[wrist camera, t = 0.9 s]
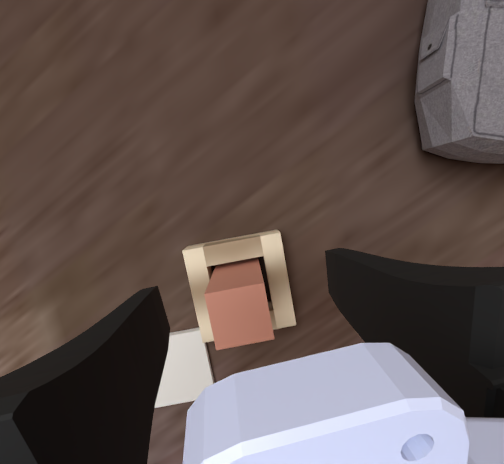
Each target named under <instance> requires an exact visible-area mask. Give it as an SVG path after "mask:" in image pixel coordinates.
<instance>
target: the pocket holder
mask: <svg viewBox="0 0 504 464" xmlns="http://www.w3.org/2000/svg"><path fill="white" fill-rule="evenodd" d="M182 252H183V256H184V261H185V265H186V270H187V274H188V279H189V283H190V288H191V292H192V297H193V301H194V306H195V310H196V315H197V319H198V324H199V328H200V333H201V338H202V342H203V343H205V342H210V341H214V337H213V333H212V328H211V323H210V319H209V314H208V309H207V305H206V300H205V296H204V293H205V291H206V289H207V286H208V284H209V281H210V279H211V276H212V269H211V266H213V265H218V264H224V263H229V262H234V261H240V260H245V259H250V258H256V257H261V256H263V259H264V264H265V270H266V275H267V281H268V286H269V292H270V297H271V301H270V302H268V307H269V312H270V318H271V323H272V328H273V330H274V329H279V328H284V327H289V326H295V325H296V320H295V314H294V309H293V303H292V297H291V291H290V286H289V280H288V274H287V268H286V262H285V257H284V251H283V245H282V239H281V234H280V232H279V231H278V230H272V231H266V232H261V233H256V234H250V235H245V236H240V237H234V238H229V239H224V240H218V241H213V242H208V243H202V244H197V245H192V246H187V247H186V248H185V249H184V250H183V251H182Z"/></svg>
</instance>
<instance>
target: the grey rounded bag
mask: <svg viewBox="0 0 504 464" xmlns="http://www.w3.org/2000/svg"><path fill="white" fill-rule="evenodd" d="M414 102H415V107H416V113H417V119H418V124H419V130H420V136H421V142H422V150H424V151H427V152H430V153H433V154H436V155H439V156H442V157H445V158H448V159H455V160H462V161H468V162H475V163H499V164H504V0H428V3H427V9H426V14H425V20H424V25H423V31H422V37H421V42H420V48H419V57H418V68H417V79H416V90H415V101H414Z"/></svg>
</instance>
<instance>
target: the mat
mask: <svg viewBox="0 0 504 464" xmlns="http://www.w3.org/2000/svg"><path fill="white" fill-rule="evenodd" d="M214 383H215V382H214V377H213V373H212V368H211V364H210V359H209V354H208V350H207V345H206V342H205V343H203V342H202V338H201V333H200V328H194V329H188V330H183V331H178V332H173V333H170V336H169V346H168V353H167V357H166V361H165V366H164V370H163V374H162V378H161V382H160V386H159V390H158V394H157V398H156V403H155V408H158V407H163V406H168V405H174V404H179V403H184V402H189V401H194V400H196V399H197V398H198V396H199V395H200V394H201V393H202V391H203V390H204V389H205V388H206V387H208V386H210V385H212V384H214Z"/></svg>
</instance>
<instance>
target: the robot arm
mask: <svg viewBox="0 0 504 464" xmlns="http://www.w3.org/2000/svg"><path fill="white" fill-rule="evenodd" d="M325 253H326V265H327V276H328V288H329V294H330V295H331V297H332V299H333V301H334V302H335V304H336V306H337V307H338V309H339V310H340V312H341V313H342V314H343V316H344V317H345V318H346V319H347V321H348V322H349V323H350V324H351V326H352V327H353V328H354V329H355V330H356V332H357V333H358V334H359V335H360V336H361V338H362V339H363V340H364V341H365V343H360V344H356V345H352V346H347V347H343V348H339V349H335V350H331V351H327V352H323V353H319V354H314V355H310V356H306V357H302V358H298V359H294V360H290V361H286V362H281V363H277V364H273V365H269V366H265V367H261V368H257V369H253V370H248V371H244V372H240V373H236V374H233V375H231V376H229V377H227V378H225V379H223V380H221V381H218V382H216V383H214V384H212V385H210V386H208V387H206V388H205V389H204V390H203V391H202V393H201V394H200V395H199V396H198V398H197V399H196V400H195V402H194V403H193V404H192V405H191V407H190V408H189V409H188V411H187V422H186V433H185V444H184V455H183V464H504V267H451V266H436V265H427V264H418V263H411V262H405V261H399V260H394V259H389V258H384V257H380V256H375V255H371V254H367V253H363V252H358V251H354V250H349V249H344V248H337V249H332V250H327V251H325ZM169 336H170V326H169V323H168V319H167V316H166V313H165V309H164V306H163V302H162V299H161V296H160V292H159V289H158V286H155V287H150V288H146V289H142V290H140V291H138V292H137V293H136V294H134V295H133V296H131V297H130V298H129V299H128V300H126V301H125V302H124V303H122V304H121V305H120V306H119V307H117V308H116V309H115V310H113V311H112V312H111V313H110V314H108V315H107V316H106V317H104V318H103V319H101V320H100V321H99V322H97V323H96V324H95V325H93V326H92V327H90V328H89V329H88V330H86V331H85V332H83V333H82V334H80V335H79V336H77V337H76V338H74V339H72V340H71V341H69V342H67V343H66V344H64V345H62V346H61V347H59V348H57V349H56V350H54V351H52V352H50V353H48V354H46V355H44V356H42V357H41V358H39V359H37V360H35V361H33V362H31V363H29V364H27V365H25V366H23V367H21V368H19V369H17V370H15V371H13V372H11V373H9V374H7V375H5V376H2V377H0V464H147V459H148V450H149V441H150V434H151V427H152V419H153V413H154V408H155V403H156V398H157V394H158V390H159V386H160V382H161V378H162V374H163V370H164V366H165V361H166V357H167V353H168V346H169Z"/></svg>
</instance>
